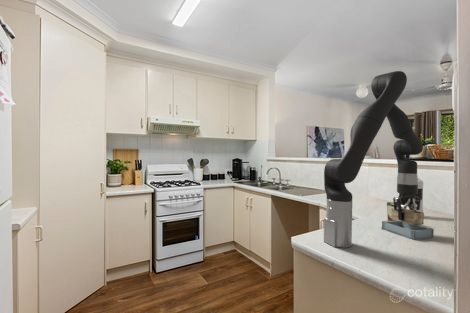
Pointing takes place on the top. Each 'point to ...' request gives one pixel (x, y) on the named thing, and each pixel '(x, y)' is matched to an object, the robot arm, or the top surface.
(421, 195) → the vodka
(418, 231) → the crate
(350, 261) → the top surface
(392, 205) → the food container
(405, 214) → the small crate
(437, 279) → the top surface
